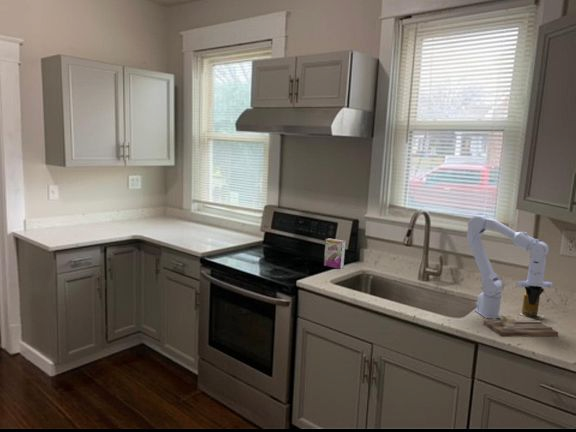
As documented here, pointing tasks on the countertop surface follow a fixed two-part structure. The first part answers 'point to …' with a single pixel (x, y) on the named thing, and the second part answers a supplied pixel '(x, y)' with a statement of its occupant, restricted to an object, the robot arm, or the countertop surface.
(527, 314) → the condiment
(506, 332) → the console
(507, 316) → the fader tab
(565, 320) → the countertop surface
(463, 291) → the countertop surface
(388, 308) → the countertop surface
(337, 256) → the candy bar box
